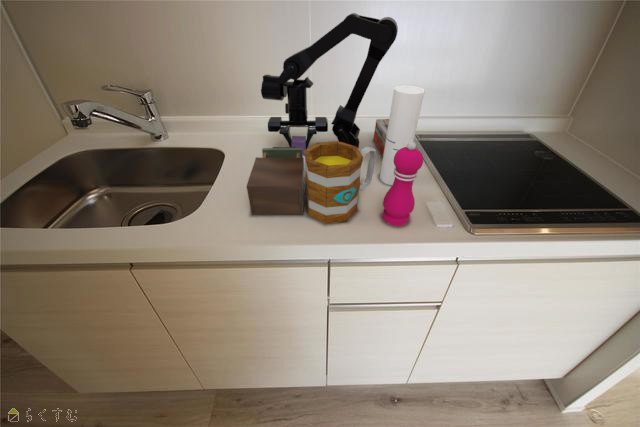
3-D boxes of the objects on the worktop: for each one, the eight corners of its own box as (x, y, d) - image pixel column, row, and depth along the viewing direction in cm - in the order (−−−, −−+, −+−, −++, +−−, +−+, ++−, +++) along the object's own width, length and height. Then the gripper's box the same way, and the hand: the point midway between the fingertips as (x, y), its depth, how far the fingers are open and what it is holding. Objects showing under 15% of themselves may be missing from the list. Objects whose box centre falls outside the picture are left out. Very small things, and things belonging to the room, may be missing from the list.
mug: (322, 231, 66) (323, 175, 57) (295, 201, 75) (292, 149, 66) (386, 204, 74) (396, 152, 65) (354, 180, 83) (359, 131, 74)
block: (306, 148, 99) (305, 136, 96) (305, 154, 95) (305, 142, 92) (292, 148, 99) (292, 136, 96) (292, 154, 95) (291, 142, 92)
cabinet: (260, 184, 81) (255, 157, 76) (304, 184, 81) (303, 157, 76) (251, 215, 71) (246, 186, 65) (302, 215, 71) (301, 185, 66)
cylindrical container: (389, 169, 88) (404, 83, 73) (409, 178, 84) (430, 89, 69) (374, 178, 84) (388, 89, 69) (395, 188, 80) (414, 96, 65)
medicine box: (372, 139, 104) (375, 118, 99) (394, 139, 105) (398, 117, 100) (384, 160, 93) (387, 136, 88) (408, 159, 93) (413, 135, 88)
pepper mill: (377, 209, 73) (389, 134, 60) (404, 208, 73) (423, 133, 61) (384, 228, 67) (400, 150, 55) (414, 226, 68) (436, 149, 55)
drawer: (267, 160, 90) (264, 140, 86) (303, 160, 90) (302, 140, 86) (259, 192, 77) (255, 170, 73) (301, 192, 77) (300, 170, 73)
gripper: (327, 93, 93) (326, 138, 103) (269, 93, 93) (274, 138, 103) (328, 105, 84) (327, 153, 94) (264, 104, 84) (270, 153, 94)
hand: (299, 148), depth 96 cm, fingers closed on block, 4 cm apart
